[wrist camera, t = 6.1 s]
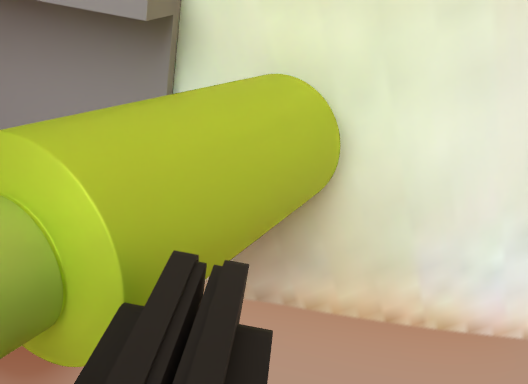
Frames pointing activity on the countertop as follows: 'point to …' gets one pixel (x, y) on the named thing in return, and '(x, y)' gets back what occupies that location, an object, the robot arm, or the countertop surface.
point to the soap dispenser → (146, 200)
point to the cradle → (83, 56)
